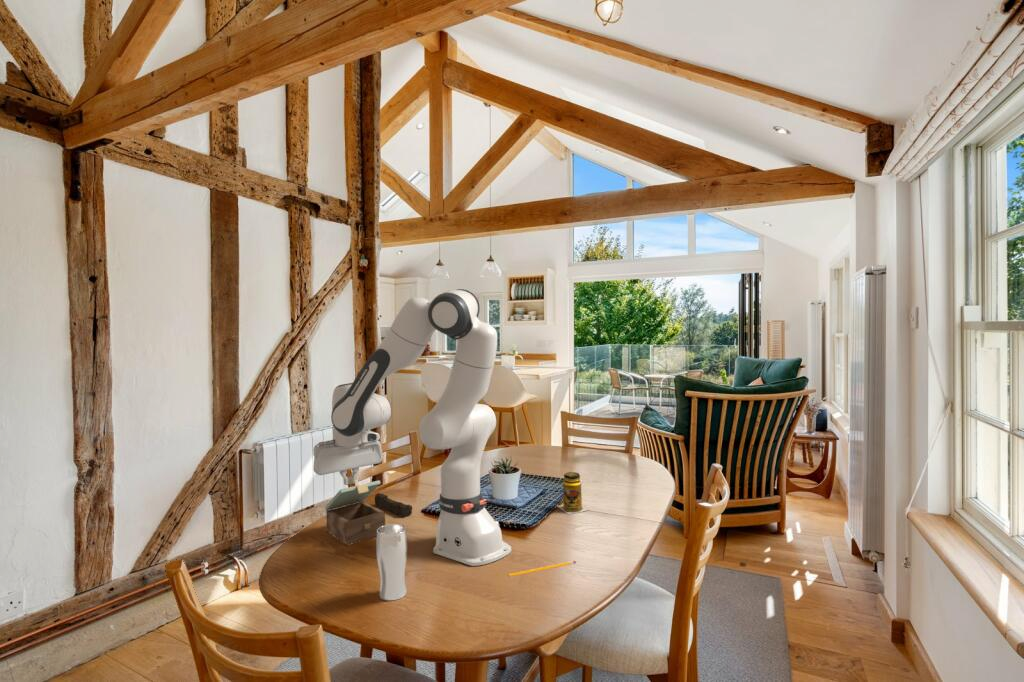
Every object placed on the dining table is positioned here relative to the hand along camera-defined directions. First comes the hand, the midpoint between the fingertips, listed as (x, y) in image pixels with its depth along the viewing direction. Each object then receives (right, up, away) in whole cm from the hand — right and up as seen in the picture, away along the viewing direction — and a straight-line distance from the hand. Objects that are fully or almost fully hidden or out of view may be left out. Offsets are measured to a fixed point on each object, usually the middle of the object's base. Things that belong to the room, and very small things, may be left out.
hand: (349, 483), depth 149 cm
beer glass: (+21, -16, -34) cm, 43 cm away
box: (+1, -16, +2) cm, 16 cm away
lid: (+1, -6, +2) cm, 7 cm away
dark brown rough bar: (+7, -16, +21) cm, 27 cm away
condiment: (+68, -14, +19) cm, 72 cm away
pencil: (+56, -15, -23) cm, 63 cm away
